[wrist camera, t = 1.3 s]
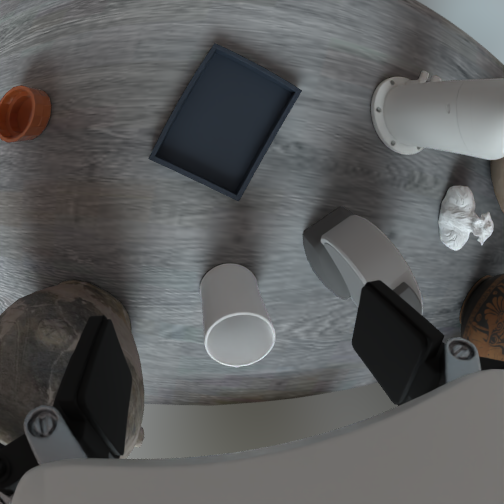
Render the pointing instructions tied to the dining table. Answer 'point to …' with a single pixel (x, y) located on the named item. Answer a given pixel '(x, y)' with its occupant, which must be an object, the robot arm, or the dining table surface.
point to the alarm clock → (357, 258)
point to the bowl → (498, 180)
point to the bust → (462, 219)
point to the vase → (485, 317)
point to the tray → (225, 122)
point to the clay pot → (57, 352)
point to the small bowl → (23, 113)
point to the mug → (234, 316)
